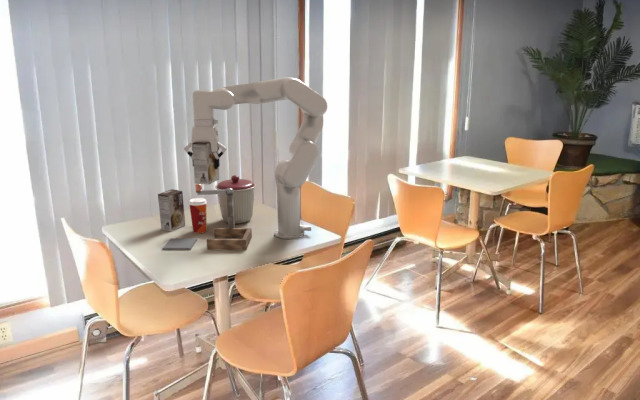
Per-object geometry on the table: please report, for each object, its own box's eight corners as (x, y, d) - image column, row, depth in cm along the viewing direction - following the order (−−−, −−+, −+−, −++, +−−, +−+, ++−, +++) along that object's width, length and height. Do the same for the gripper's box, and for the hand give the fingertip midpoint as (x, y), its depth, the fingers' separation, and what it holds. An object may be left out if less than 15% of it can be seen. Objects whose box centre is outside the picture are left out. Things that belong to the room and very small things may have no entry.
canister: (265, 219, 260) (263, 174, 254) (235, 229, 247) (232, 182, 241) (239, 212, 272) (237, 168, 266) (209, 221, 259) (206, 176, 253)
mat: (197, 240, 234) (196, 238, 234) (190, 249, 224) (190, 247, 223) (170, 240, 235) (170, 238, 234) (162, 249, 224) (162, 247, 224)
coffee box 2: (205, 178, 228) (203, 138, 224) (219, 179, 226) (218, 139, 222) (194, 183, 219) (191, 142, 215) (209, 185, 218) (207, 143, 213)
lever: (233, 192, 236) (233, 182, 234) (233, 194, 233) (232, 184, 232) (196, 194, 234) (195, 183, 233) (195, 195, 231) (195, 185, 230)
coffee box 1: (174, 223, 256) (171, 188, 251) (185, 225, 253) (183, 190, 249) (160, 229, 248) (157, 193, 244) (171, 231, 245) (168, 195, 241)
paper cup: (204, 234, 241) (202, 202, 237) (187, 233, 242) (185, 202, 239) (211, 228, 248) (209, 197, 244) (195, 227, 250) (193, 197, 246)
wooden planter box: (253, 234, 241) (251, 193, 236) (246, 249, 223) (244, 205, 218) (216, 234, 241) (213, 193, 236) (207, 249, 224) (204, 205, 219)
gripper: (228, 121, 220) (230, 166, 225) (183, 121, 220) (186, 166, 225) (225, 124, 213) (226, 170, 218) (178, 124, 213) (181, 170, 218)
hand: (206, 168), depth 221 cm, fingers closed on coffee box 2, 7 cm apart
